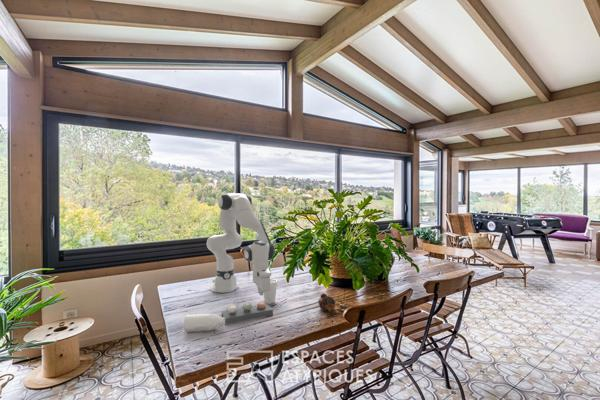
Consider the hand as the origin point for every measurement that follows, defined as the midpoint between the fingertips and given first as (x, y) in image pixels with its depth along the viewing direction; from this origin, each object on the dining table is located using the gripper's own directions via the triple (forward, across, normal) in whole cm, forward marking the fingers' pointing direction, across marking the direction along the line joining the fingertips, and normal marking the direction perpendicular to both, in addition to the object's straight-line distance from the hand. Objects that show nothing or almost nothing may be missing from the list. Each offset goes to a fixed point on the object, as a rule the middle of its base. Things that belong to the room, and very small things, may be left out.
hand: (260, 294), depth 159 cm
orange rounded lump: (+10, 0, 0) cm, 10 cm away
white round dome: (+9, 0, -16) cm, 18 cm away
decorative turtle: (+11, +13, +35) cm, 39 cm away
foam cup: (+11, -14, +10) cm, 20 cm away
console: (+10, 0, -8) cm, 13 cm away
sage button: (+9, 0, -8) cm, 12 cm away
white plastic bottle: (+11, +6, -31) cm, 34 cm away
